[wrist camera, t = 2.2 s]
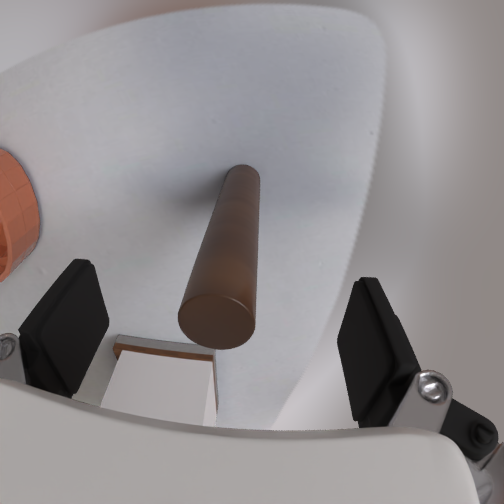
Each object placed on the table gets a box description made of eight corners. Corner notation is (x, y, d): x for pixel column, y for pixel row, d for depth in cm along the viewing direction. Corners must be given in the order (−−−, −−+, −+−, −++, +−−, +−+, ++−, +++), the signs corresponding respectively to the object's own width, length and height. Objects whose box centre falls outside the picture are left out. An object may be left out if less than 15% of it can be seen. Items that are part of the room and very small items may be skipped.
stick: (219, 173, 21) (162, 309, 9) (250, 158, 20) (230, 283, 8) (236, 201, 22) (204, 357, 10) (266, 188, 21) (268, 338, 9)
